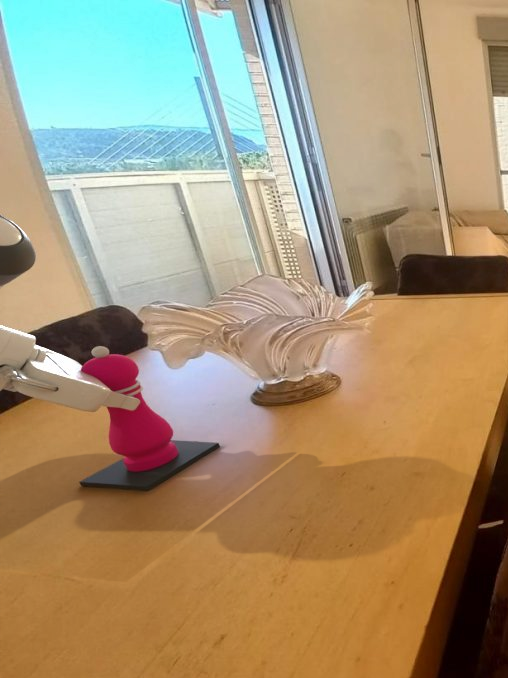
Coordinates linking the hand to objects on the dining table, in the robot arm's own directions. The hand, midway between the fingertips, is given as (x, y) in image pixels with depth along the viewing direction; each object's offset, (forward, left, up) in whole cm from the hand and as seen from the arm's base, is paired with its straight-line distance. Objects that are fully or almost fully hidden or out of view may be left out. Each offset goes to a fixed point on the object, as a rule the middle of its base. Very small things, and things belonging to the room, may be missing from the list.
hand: (127, 397), depth 73 cm
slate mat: (0, -1, -12) cm, 12 cm away
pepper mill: (0, 0, -12) cm, 12 cm away
